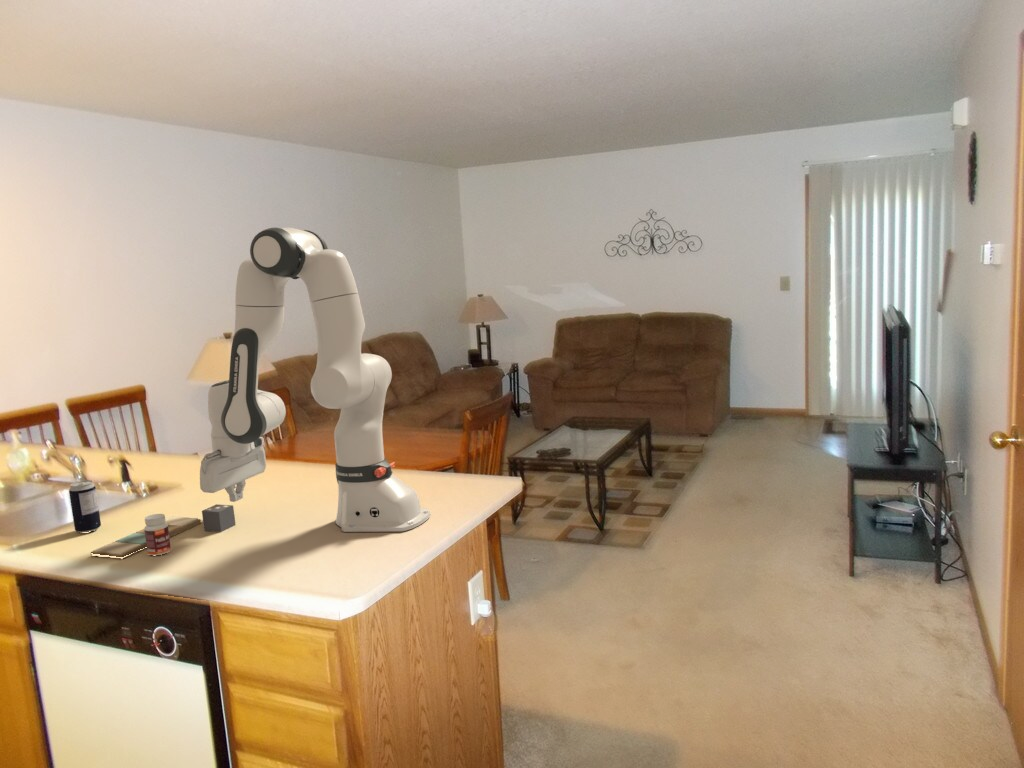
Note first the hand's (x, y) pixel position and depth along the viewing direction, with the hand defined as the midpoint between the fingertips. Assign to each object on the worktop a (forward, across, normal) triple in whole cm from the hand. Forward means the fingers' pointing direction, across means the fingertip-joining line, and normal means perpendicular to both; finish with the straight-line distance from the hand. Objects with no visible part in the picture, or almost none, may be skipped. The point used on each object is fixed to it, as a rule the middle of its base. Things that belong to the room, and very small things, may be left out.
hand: (236, 500), depth 196 cm
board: (+5, -18, +11) cm, 21 cm away
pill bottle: (+5, -25, +1) cm, 25 cm away
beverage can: (+6, -16, +32) cm, 36 cm away
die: (+5, -8, -1) cm, 9 cm away
